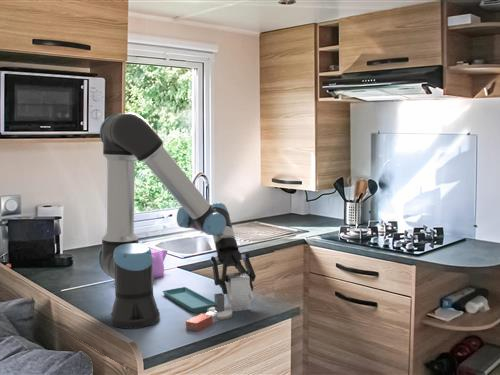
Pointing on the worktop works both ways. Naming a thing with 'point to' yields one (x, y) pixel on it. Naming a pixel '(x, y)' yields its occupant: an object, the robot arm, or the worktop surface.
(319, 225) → the worktop surface
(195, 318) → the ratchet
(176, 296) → the teal serving tray
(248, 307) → the tall white box
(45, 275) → the worktop surface
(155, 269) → the pink pitcher
